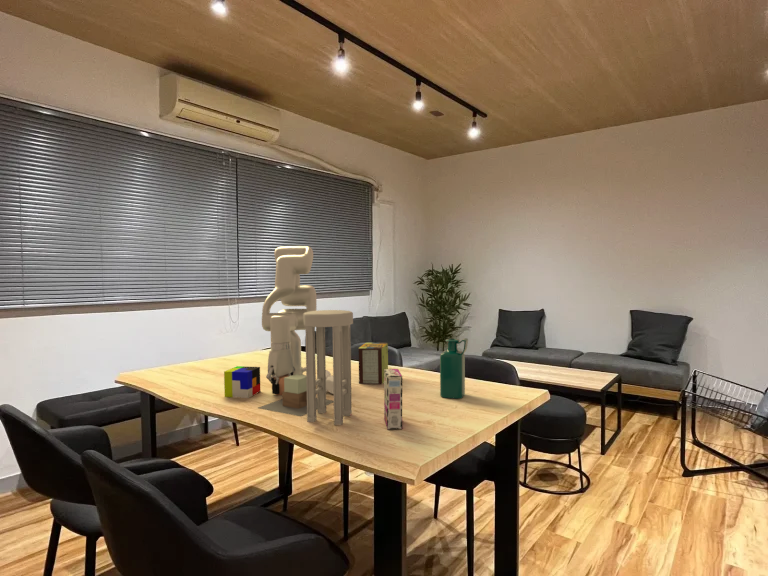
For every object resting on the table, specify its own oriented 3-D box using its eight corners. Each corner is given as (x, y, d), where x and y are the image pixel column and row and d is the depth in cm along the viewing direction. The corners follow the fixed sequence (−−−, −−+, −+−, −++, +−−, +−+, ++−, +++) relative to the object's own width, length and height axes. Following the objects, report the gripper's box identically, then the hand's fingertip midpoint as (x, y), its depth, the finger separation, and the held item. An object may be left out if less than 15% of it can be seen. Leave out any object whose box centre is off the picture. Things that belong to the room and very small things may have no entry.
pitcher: (439, 397, 174) (438, 339, 173) (444, 392, 182) (443, 336, 181) (465, 399, 170) (464, 340, 169) (469, 394, 178) (468, 337, 177)
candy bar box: (403, 429, 139) (402, 375, 139) (387, 430, 139) (386, 376, 138) (399, 417, 151) (398, 368, 150) (383, 418, 150) (383, 368, 150)
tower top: (296, 387, 170) (296, 374, 170) (310, 389, 167) (310, 376, 167) (284, 391, 164) (284, 377, 164) (298, 393, 161) (298, 379, 161)
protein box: (388, 376, 210) (388, 342, 210) (382, 384, 195) (381, 348, 194) (366, 375, 212) (365, 342, 211) (358, 383, 197) (357, 347, 196)
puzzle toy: (248, 398, 177) (247, 372, 176) (224, 397, 179) (224, 371, 178) (260, 391, 186) (259, 366, 186) (237, 390, 188) (237, 366, 188)
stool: (359, 412, 157) (357, 310, 155) (345, 427, 142) (343, 314, 140) (316, 409, 160) (314, 309, 159) (298, 424, 145) (296, 313, 144)
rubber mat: (295, 395, 179) (295, 394, 179) (336, 402, 169) (336, 401, 169) (257, 409, 162) (257, 407, 162) (300, 417, 152) (300, 416, 152)
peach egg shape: (281, 391, 185) (281, 374, 185) (291, 393, 183) (291, 375, 182) (271, 395, 181) (271, 377, 180) (282, 396, 178) (281, 378, 178)
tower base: (296, 400, 171) (296, 387, 171) (312, 403, 167) (312, 389, 167) (282, 405, 164) (282, 391, 164) (298, 408, 161) (298, 394, 160)
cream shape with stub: (350, 400, 183) (323, 381, 191) (355, 381, 181) (329, 363, 189) (335, 405, 176) (309, 386, 184) (341, 386, 174) (314, 367, 182)
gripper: (288, 342, 190) (289, 385, 191) (257, 349, 175) (258, 395, 176) (302, 343, 186) (303, 388, 187) (272, 350, 172) (273, 398, 172)
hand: (281, 391), depth 182 cm, fingers open, 5 cm apart
